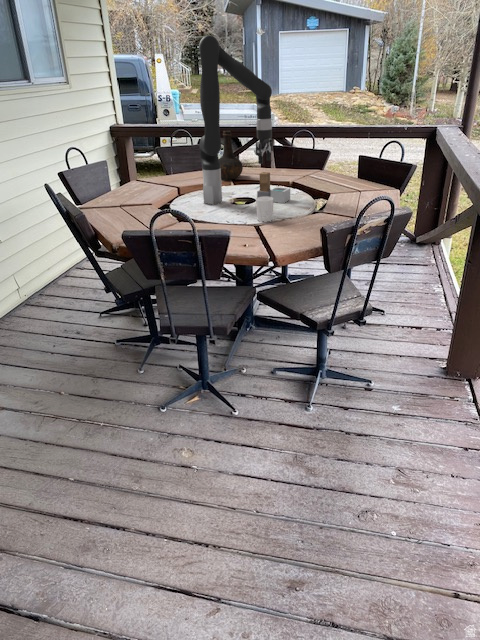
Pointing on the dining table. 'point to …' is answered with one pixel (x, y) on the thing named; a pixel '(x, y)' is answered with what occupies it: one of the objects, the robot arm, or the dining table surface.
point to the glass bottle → (229, 160)
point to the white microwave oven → (280, 194)
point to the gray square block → (263, 193)
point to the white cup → (264, 208)
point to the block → (264, 181)
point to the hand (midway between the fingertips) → (264, 162)
